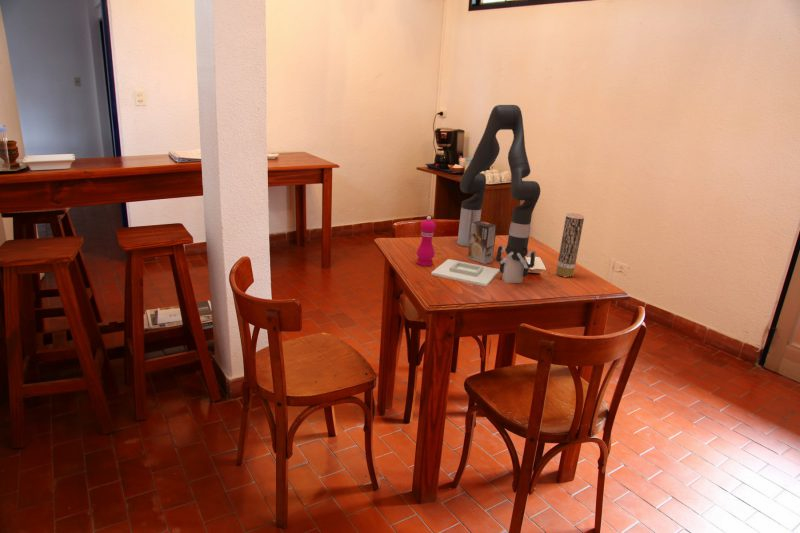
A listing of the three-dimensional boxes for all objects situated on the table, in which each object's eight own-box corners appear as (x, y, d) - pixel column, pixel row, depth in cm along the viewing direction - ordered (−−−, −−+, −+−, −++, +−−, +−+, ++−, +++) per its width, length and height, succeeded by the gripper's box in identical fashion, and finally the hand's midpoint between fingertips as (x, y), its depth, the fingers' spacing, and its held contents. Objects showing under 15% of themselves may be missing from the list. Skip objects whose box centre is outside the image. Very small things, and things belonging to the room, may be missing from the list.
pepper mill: (432, 267, 216) (436, 219, 209) (414, 265, 217) (418, 217, 210) (434, 262, 222) (439, 215, 216) (417, 260, 224) (421, 213, 217)
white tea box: (522, 282, 206) (526, 258, 203) (505, 283, 205) (509, 258, 202) (518, 279, 210) (521, 255, 207) (502, 279, 208) (505, 255, 205)
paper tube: (561, 271, 223) (571, 212, 215) (576, 276, 219) (587, 216, 210) (552, 274, 218) (563, 214, 210) (567, 279, 214) (579, 218, 206)
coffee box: (493, 261, 229) (498, 225, 224) (484, 264, 224) (489, 227, 219) (475, 256, 235) (480, 220, 230) (466, 258, 230) (471, 222, 225)
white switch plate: (448, 261, 225) (448, 255, 224) (499, 271, 217) (500, 265, 216) (431, 274, 207) (431, 268, 207) (486, 286, 199) (487, 280, 199)
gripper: (540, 235, 202) (533, 275, 207) (502, 228, 207) (497, 268, 212) (536, 239, 195) (529, 281, 201) (498, 232, 200) (492, 273, 206)
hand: (513, 274), depth 206 cm, fingers open, 8 cm apart
